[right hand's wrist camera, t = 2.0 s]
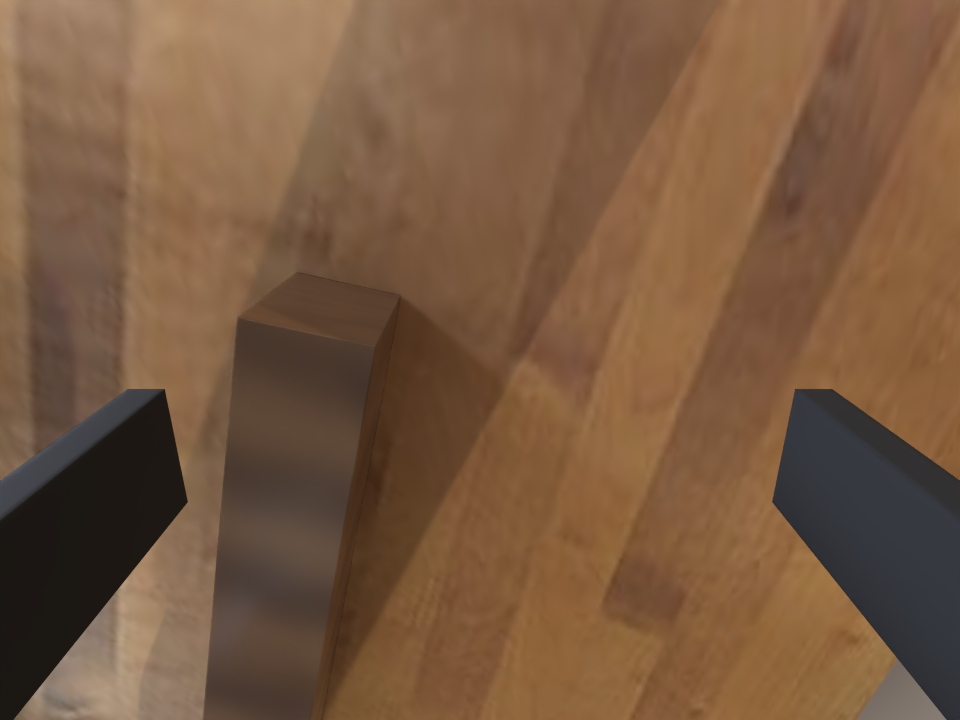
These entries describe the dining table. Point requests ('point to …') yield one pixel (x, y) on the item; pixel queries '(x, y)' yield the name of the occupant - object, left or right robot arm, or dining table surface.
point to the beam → (293, 492)
